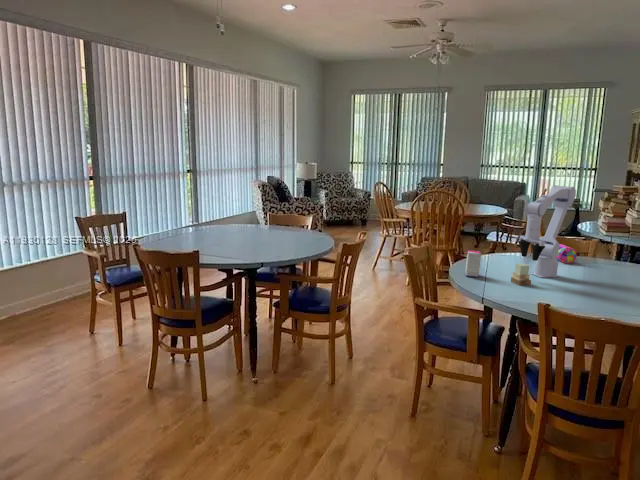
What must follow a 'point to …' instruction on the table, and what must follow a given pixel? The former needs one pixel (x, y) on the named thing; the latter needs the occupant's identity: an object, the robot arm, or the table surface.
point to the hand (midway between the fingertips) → (529, 258)
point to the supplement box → (472, 264)
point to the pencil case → (566, 254)
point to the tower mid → (520, 276)
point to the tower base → (520, 282)
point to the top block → (522, 269)
